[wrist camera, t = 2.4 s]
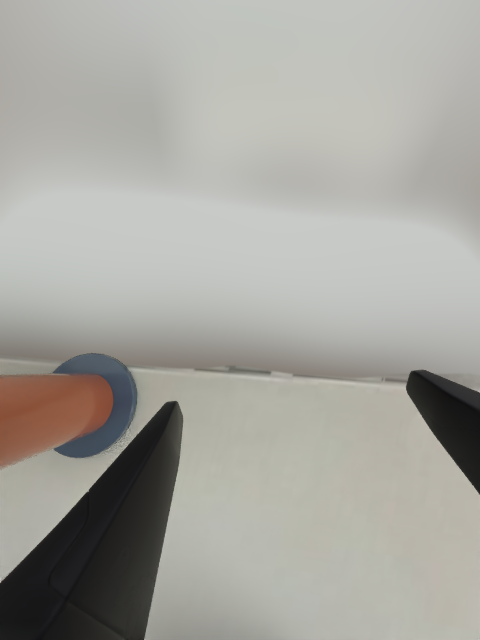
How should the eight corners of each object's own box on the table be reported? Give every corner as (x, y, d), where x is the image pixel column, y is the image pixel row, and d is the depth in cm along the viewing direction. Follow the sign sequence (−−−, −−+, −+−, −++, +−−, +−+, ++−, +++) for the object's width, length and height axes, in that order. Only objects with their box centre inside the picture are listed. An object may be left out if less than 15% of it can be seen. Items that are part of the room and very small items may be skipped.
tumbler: (105, 440, 22) (-70, 526, 10) (47, 430, 22) (-185, 501, 10) (120, 376, 23) (-18, 384, 11) (65, 368, 23) (-123, 368, 12)
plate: (124, 463, 22) (119, 466, 21) (31, 446, 23) (23, 448, 22) (146, 360, 24) (143, 360, 23) (60, 348, 25) (54, 347, 24)
